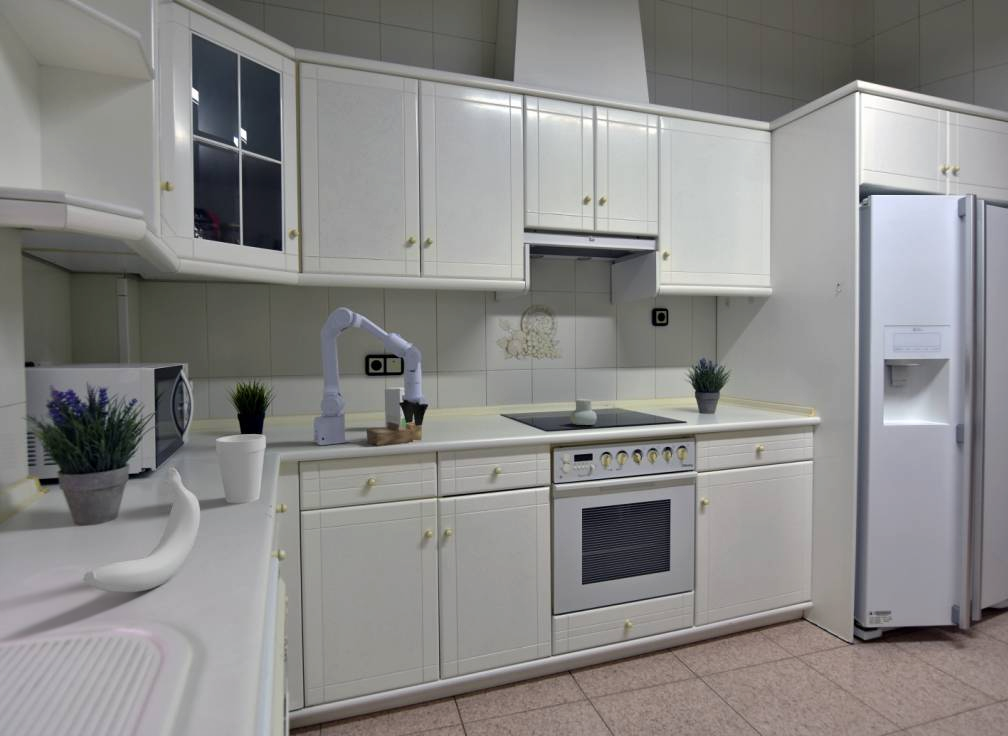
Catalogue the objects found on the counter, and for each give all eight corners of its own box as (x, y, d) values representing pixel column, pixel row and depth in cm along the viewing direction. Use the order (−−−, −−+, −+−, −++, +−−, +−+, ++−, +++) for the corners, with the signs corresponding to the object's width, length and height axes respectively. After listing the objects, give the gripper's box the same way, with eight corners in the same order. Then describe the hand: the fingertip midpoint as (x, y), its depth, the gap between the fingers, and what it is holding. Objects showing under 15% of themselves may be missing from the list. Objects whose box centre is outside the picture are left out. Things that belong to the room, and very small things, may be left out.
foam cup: (274, 499, 118) (272, 438, 117) (227, 508, 112) (224, 443, 111) (257, 490, 125) (255, 432, 124) (212, 499, 118) (210, 438, 118)
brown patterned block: (410, 441, 185) (410, 424, 185) (405, 439, 189) (405, 423, 188) (421, 440, 187) (421, 423, 187) (416, 438, 191) (416, 422, 190)
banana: (82, 617, 68) (76, 498, 67) (179, 557, 87) (175, 463, 86) (121, 618, 68) (116, 498, 67) (210, 557, 86) (206, 463, 86)
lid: (379, 435, 177) (379, 426, 177) (370, 432, 184) (370, 423, 183) (411, 431, 183) (411, 423, 183) (401, 428, 190) (401, 420, 190)
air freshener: (569, 423, 221) (569, 398, 221) (589, 423, 223) (589, 397, 222) (577, 427, 210) (577, 401, 210) (598, 427, 212) (598, 400, 211)
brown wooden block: (377, 446, 176) (377, 433, 176) (367, 442, 184) (366, 429, 184) (412, 442, 183) (412, 429, 183) (401, 438, 190) (401, 426, 190)
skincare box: (400, 430, 206) (400, 388, 206) (384, 430, 208) (383, 388, 207) (409, 427, 215) (408, 386, 214) (393, 427, 216) (392, 386, 215)
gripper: (433, 383, 183) (434, 425, 184) (414, 381, 195) (415, 420, 196) (413, 385, 179) (414, 427, 180) (395, 382, 191) (396, 422, 192)
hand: (413, 423), depth 188 cm, fingers open, 7 cm apart
